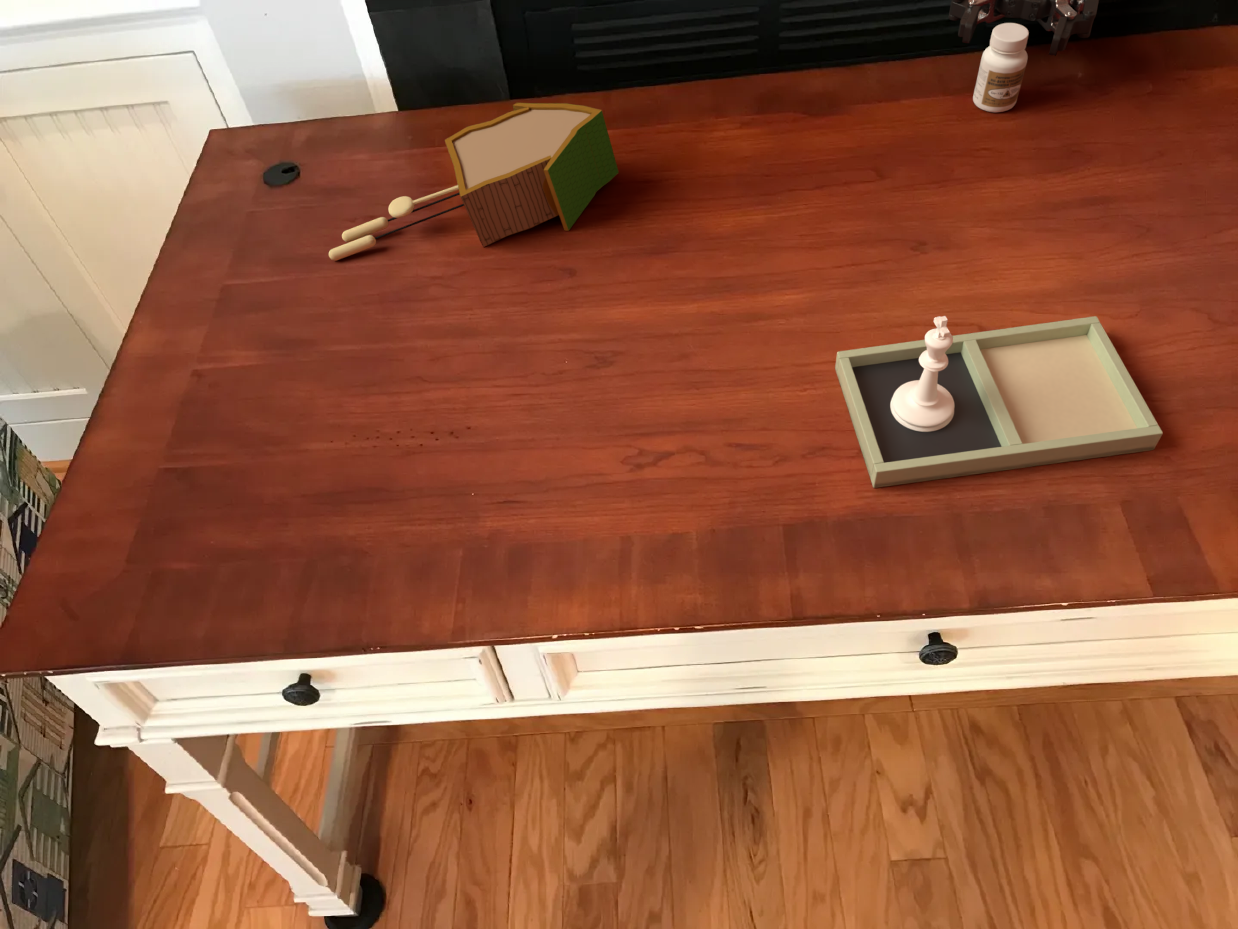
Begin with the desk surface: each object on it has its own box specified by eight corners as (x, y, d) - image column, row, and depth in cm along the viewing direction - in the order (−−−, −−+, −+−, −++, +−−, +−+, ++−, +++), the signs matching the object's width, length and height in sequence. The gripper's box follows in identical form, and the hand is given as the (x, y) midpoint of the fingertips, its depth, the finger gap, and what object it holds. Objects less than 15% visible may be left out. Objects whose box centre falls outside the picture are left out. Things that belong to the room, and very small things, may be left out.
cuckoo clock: (352, 315, 97) (635, 207, 97) (315, 260, 91) (618, 144, 90) (337, 238, 104) (602, 137, 104) (302, 182, 98) (584, 74, 97)
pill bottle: (984, 117, 101) (1000, 47, 95) (964, 94, 104) (979, 25, 98) (1023, 108, 102) (1042, 37, 96) (1003, 85, 104) (1020, 15, 98)
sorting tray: (1089, 333, 83) (1096, 315, 81) (1153, 450, 75) (1163, 433, 73) (834, 368, 83) (836, 351, 81) (873, 488, 75) (876, 472, 74)
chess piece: (938, 379, 80) (961, 288, 72) (964, 424, 77) (991, 334, 69) (880, 392, 80) (897, 303, 72) (904, 438, 77) (924, 350, 69)
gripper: (980, -80, 107) (945, -5, 98) (1120, -66, 102) (1096, 14, 94) (967, -12, 113) (933, 64, 104) (1098, 4, 108) (1074, 85, 100)
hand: (1010, 40), depth 99 cm, fingers open, 8 cm apart
